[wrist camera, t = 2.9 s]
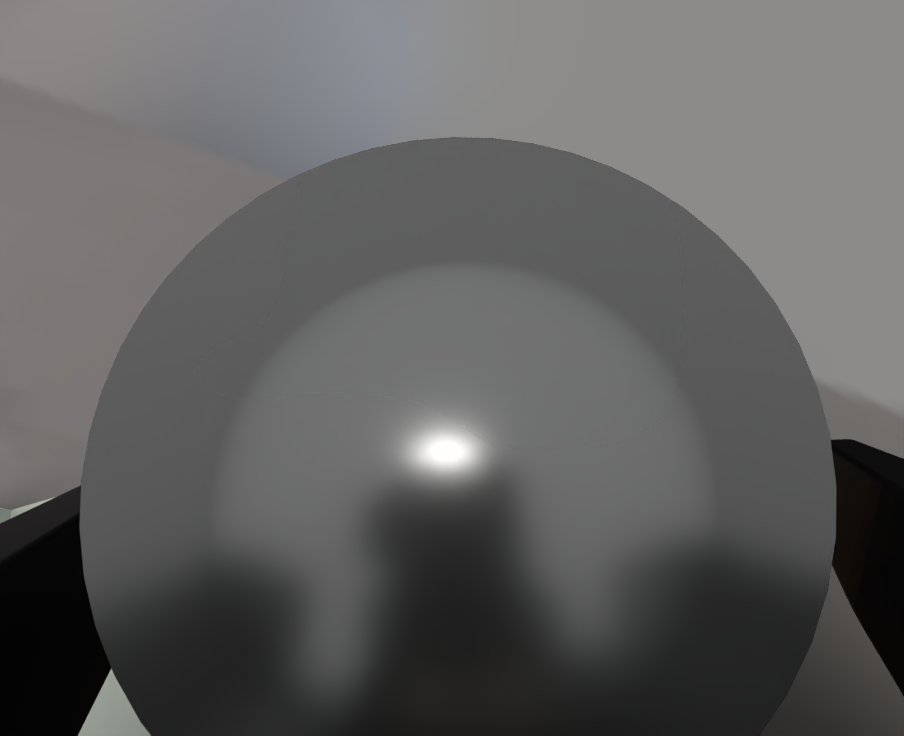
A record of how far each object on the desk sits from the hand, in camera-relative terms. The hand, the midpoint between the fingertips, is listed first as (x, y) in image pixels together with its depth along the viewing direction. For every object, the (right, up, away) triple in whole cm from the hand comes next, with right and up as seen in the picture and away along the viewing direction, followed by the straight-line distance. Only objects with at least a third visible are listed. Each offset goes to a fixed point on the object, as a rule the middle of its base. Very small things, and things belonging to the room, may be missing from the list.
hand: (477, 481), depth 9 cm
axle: (0, -4, +6) cm, 7 cm away
